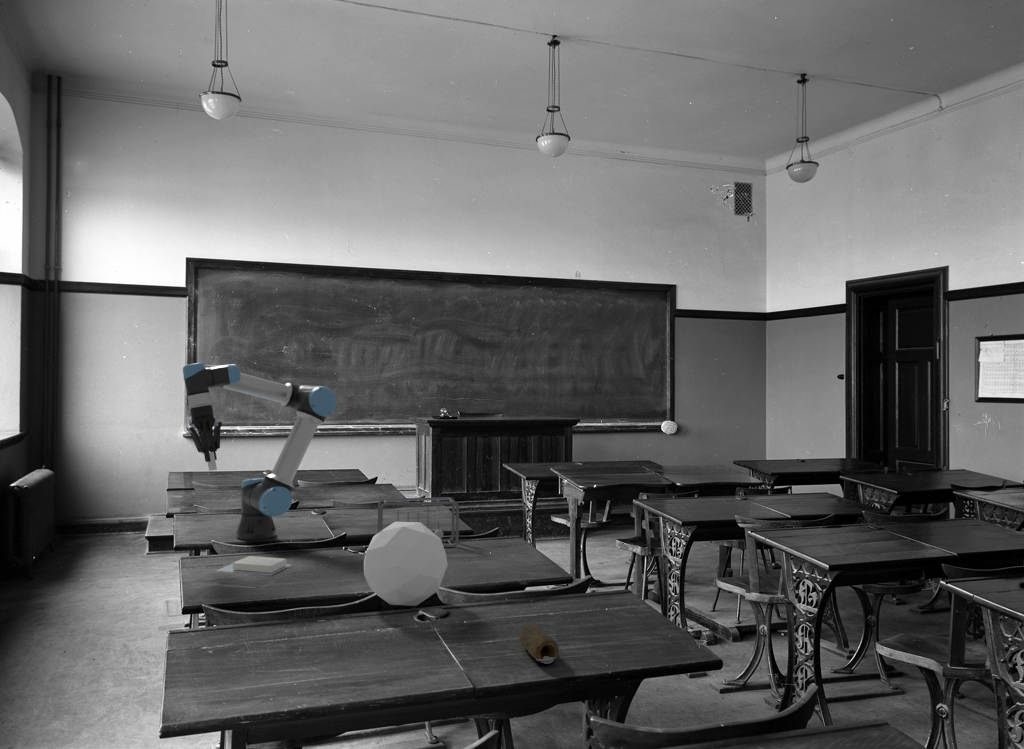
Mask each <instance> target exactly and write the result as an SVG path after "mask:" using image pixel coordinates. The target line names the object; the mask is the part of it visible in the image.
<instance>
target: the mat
mask: <svg viewBox="0 0 1024 749" xmlns="http://www.w3.org/2000/svg"><path fill="white" fill-rule="evenodd" d="M291 566H292V564H287V563H286V566H285V567H283V568H281V569H279V570H277V571H275V572H273V573H261V572H249V571H237V570H233V563H231V564H228V565H226V566H223V567H221V568H218V569H217V570H215V572H221V573H223V572H225V573H236V574H246V575H247V574H250V575H260V576H261V575H262V576H270V577H271V576H273V575H275V574H277V573H279V572H281V571H282V570H285V569H287V568H289V567H291Z"/></svg>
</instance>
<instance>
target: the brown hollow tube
mask: <svg viewBox="0 0 1024 749" xmlns="http://www.w3.org/2000/svg"><path fill="white" fill-rule="evenodd" d="M518 639H519V643H520V642H521V643H522V644H521V643H520V644H521V645H523V646H524V647H525V648H526V649H527V650H528V651H529V652H530V653H531V654H532V655H533V656H534V657H535V658H537V659H543V657H544V656H549V657H554V658H555V657H557V658H558V657H559V645H558V644H557V642H556V641H555V639H553V638H552V637H551V636H550V635H549V634H548V633H546V632H545V631H544V630H543V629H542V628H541V627H539V626H538V625H536V624H526V625H524V626H523V627H521V628H520V629H519V633H518ZM523 646H522V647H523ZM524 647H523V648H524ZM525 648H524V649H525Z"/></svg>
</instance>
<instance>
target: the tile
mask: <svg viewBox="0 0 1024 749" xmlns="http://www.w3.org/2000/svg"><path fill="white" fill-rule="evenodd" d="M232 564H233V570H237V571H249V572H261V573H273V572H275V571H277V570H279V569H281V568H283V567H285V566H286V564H287V558H283V557H281V558H280V557H269V556H268V557H266V556H256V555H255V556H254V555H248V556H246V557H243V558H242V559H238V560H236V561H234V562H232Z"/></svg>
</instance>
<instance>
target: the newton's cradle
mask: <svg viewBox="0 0 1024 749" xmlns="http://www.w3.org/2000/svg"><path fill="white" fill-rule="evenodd" d="M430 505H431V506H433V505H434V506H437V510H439V506H441V505H443V506H444V505H451V537H450V538H447V539H442V538H443V537H444V536H445V535H444V532H443V530H441V529H440V523H437V529H436V530H435V531H434V532H433V533H434V534H435V535H437V536H438V537H439V538H440V539H441V541H442V543H449V544H443V547H454V548H456V547H457V546H458V544H459V537H460V536H459V529H460V527H459V524H460V519H459V518H460V505H459V503H458V502H456V500H455V499H454V498H453V497H449V496H448V497H447V496H446V497H445V496H442V497H441V496H440V497H435V496H434V497H404V498H402V497H399V498H398V497H396V498H395V497H394V498H389V497H388V498H382V499H380V500H379V501H378V502H377V534H378V533H379V532H381V531H382V530H383V521H384V519H383V518H384V516H383V515H384V511H383V510H384V508H385V507H390V506H391V507H395V506H396V507H400V506H402V507H403V506H427V507H426V508H427V521H426V522H427V525H430V524H429V517H430V513H429V506H430ZM419 517H420V514H417V522H420V521H419V519H420V518H419ZM399 519H400V511H397V522H400V520H399ZM407 522H410V513H407ZM454 539H455V542H454V544H452V543H451V542H453V541H454ZM446 541H447V542H446ZM450 541H451V542H450ZM455 546H456V547H455Z"/></svg>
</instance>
